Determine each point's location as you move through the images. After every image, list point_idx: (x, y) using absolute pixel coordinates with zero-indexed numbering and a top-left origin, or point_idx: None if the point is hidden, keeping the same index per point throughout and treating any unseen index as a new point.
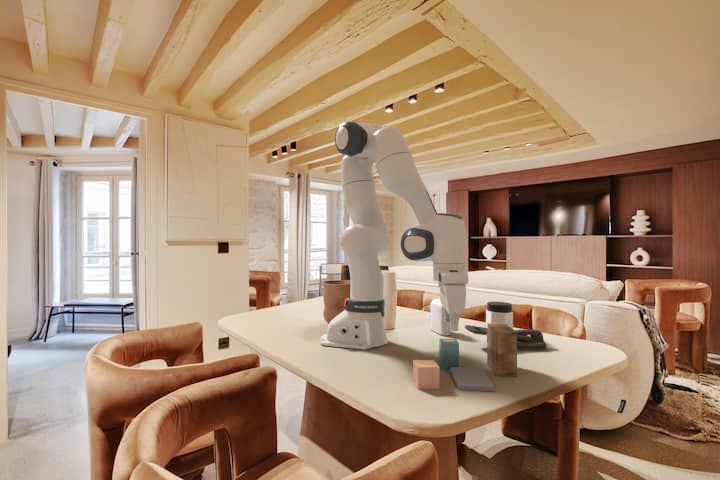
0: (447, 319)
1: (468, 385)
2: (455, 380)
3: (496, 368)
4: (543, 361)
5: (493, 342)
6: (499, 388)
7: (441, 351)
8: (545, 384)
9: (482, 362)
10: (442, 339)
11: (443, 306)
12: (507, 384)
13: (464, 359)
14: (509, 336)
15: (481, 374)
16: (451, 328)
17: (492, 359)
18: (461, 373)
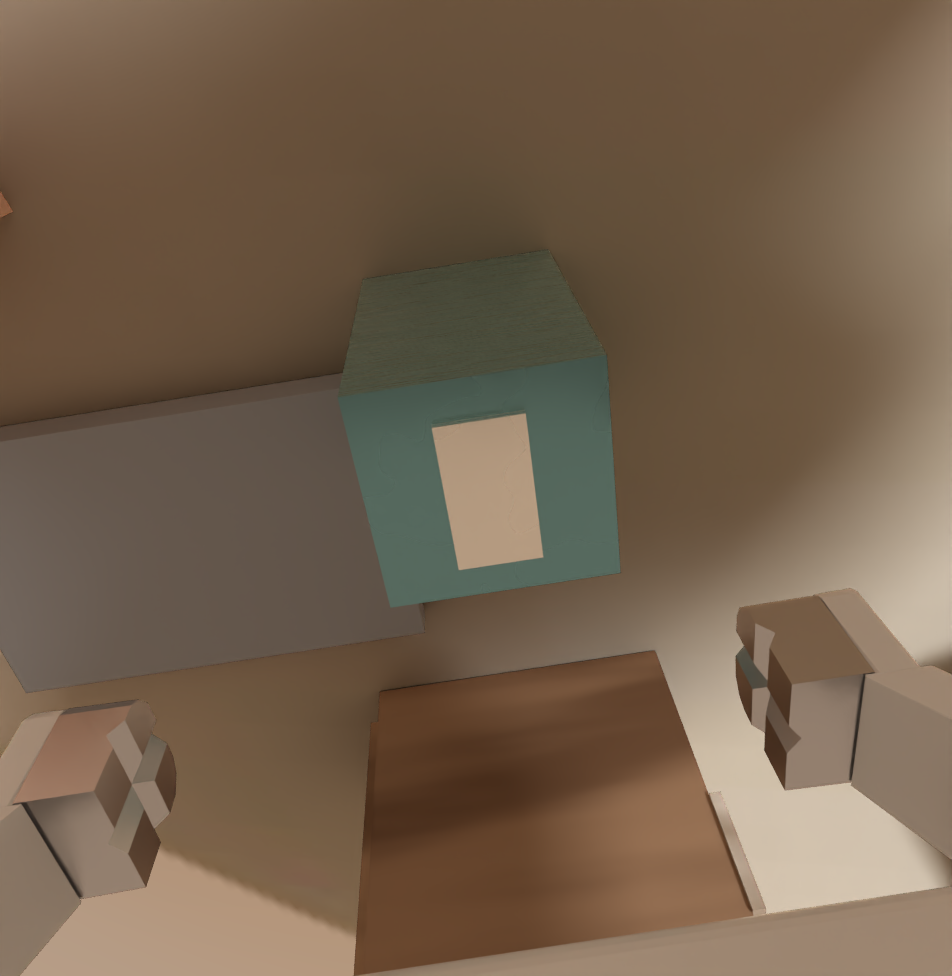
0: (768, 663)
1: None
2: (25, 433)
3: (377, 735)
4: None
5: (473, 899)
6: (120, 696)
7: (349, 352)
8: (324, 893)
9: (678, 619)
10: (562, 401)
11: (732, 927)
12: (226, 739)
13: (744, 487)
14: None
15: (260, 626)
16: (16, 745)
17: (496, 743)
18: (212, 484)
